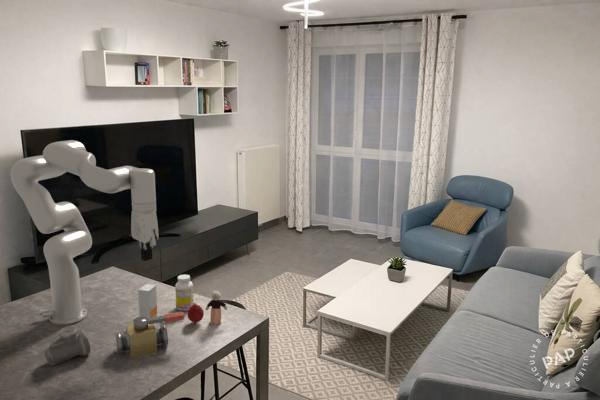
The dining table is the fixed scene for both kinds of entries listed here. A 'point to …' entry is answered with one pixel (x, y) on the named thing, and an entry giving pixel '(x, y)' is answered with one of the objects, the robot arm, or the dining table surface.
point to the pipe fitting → (67, 346)
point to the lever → (156, 320)
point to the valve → (141, 340)
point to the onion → (195, 313)
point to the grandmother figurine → (216, 308)
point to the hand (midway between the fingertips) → (146, 259)
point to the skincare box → (147, 301)
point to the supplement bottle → (184, 293)
